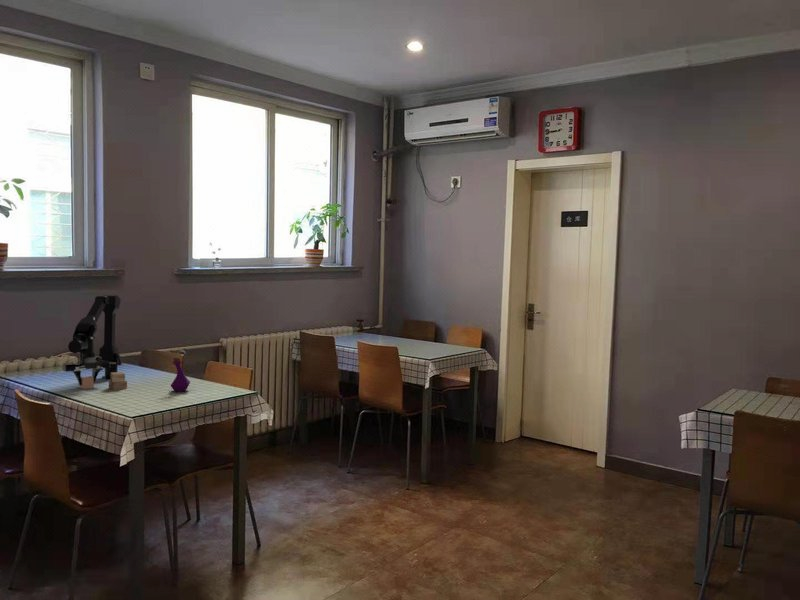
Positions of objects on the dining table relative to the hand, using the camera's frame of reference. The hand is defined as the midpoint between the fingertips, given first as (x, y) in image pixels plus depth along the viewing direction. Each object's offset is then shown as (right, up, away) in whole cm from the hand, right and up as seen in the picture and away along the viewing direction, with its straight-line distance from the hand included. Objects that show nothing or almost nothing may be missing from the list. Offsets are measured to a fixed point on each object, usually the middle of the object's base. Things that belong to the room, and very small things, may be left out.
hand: (86, 384), depth 301 cm
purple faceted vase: (+43, -3, -4) cm, 43 cm away
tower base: (+14, -2, -1) cm, 14 cm away
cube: (0, -1, 0) cm, 1 cm away
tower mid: (+14, +2, -1) cm, 15 cm away
